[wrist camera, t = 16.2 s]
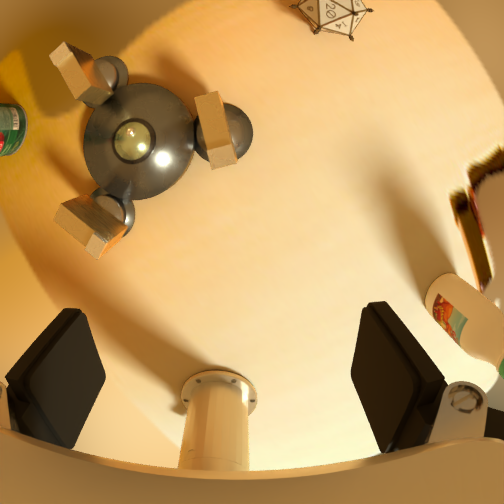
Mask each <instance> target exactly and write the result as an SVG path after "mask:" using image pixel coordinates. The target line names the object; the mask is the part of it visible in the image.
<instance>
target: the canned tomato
mask: <svg viewBox="0 0 504 504" xmlns="http://www.w3.org/2000/svg"><path fill="white" fill-rule="evenodd" d="M27 125H28V124H27V116H26V113H25V111H24V109H23V108H22V107H21V106H20V105H18V104H4V103H0V156H5V155H12V154H14V153H15V152H17V151H18V150H19V149H20V147H21V146H22V144H23V142H24V140H25V137H26V133H27Z"/></svg>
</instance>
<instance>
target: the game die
mask: <svg viewBox="0 0 504 504" xmlns="http://www.w3.org/2000/svg"><path fill="white" fill-rule="evenodd" d="M289 7H291V8H298V9H299V10H300V11H301V12H302V13H303V14H304V16H305V17H306V18H307V19H308V20H309V21H310V22H311V24H312V25H313V26H314V27H315V28H316V30H315V31H314V35H315V34H318V32H319V31H325V32H331V33H337V34H342V35H347V36H349V38H350V40H351V41H353V42H354V38H353V36H351V34H352V32H353V31H354V30H355V28H356V27H357V25H358V24H359V22H360V21H361V19H362V18H363V16H364V15H365V13H366V12H367V11H368V12H373V11H374V10H372V9H367V8H366V7H365V5H364V4H363V2H362V1H361V0H300V2H299V3H298V5H293V4H292V5H291V6H289Z"/></svg>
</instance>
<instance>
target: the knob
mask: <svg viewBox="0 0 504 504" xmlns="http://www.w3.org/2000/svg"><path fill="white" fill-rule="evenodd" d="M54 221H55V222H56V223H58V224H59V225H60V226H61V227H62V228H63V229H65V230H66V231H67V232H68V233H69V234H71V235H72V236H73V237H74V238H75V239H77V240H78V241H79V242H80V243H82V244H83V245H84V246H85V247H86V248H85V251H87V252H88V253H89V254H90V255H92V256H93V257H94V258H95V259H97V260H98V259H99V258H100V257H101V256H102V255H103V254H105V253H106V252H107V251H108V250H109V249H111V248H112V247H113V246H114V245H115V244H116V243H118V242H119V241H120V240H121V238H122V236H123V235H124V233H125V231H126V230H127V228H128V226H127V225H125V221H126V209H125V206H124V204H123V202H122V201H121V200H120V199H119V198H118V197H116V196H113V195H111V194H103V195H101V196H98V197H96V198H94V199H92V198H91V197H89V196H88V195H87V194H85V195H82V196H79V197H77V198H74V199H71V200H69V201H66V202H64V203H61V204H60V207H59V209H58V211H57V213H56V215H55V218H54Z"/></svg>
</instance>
